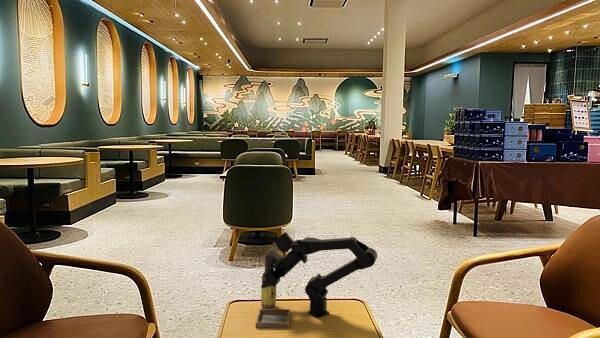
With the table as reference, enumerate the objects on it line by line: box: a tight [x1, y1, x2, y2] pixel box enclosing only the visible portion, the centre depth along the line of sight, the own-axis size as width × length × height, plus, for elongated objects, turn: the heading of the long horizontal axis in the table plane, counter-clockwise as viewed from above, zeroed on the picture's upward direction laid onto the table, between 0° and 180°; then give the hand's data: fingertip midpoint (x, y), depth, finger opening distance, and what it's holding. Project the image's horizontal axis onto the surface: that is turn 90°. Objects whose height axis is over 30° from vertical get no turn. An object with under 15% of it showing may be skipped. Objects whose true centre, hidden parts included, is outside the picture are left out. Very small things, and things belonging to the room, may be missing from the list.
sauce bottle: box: [260, 260, 277, 309], centre depth 188 cm, size 7×6×20 cm
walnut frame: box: [255, 308, 291, 329], centre depth 176 cm, size 12×12×2 cm
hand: (265, 284), depth 188 cm, fingers open, 7 cm apart
